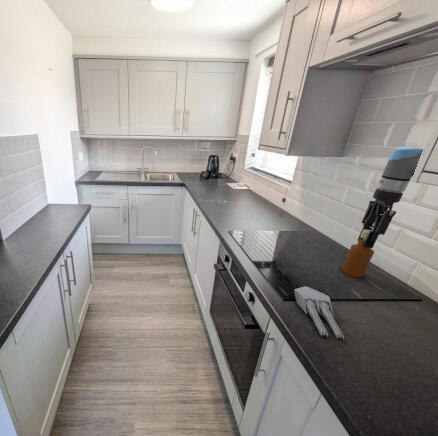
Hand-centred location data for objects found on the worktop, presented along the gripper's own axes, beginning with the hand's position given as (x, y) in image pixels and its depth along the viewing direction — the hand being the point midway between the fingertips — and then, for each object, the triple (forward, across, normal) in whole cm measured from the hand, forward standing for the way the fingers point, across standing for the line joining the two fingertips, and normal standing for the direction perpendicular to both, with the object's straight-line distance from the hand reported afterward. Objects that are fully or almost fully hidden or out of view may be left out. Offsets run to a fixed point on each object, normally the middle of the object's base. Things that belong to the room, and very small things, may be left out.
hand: (364, 244), depth 96 cm
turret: (+14, +35, -22) cm, 44 cm away
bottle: (+14, 0, 0) cm, 14 cm away
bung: (0, 0, 0) cm, 0 cm away
